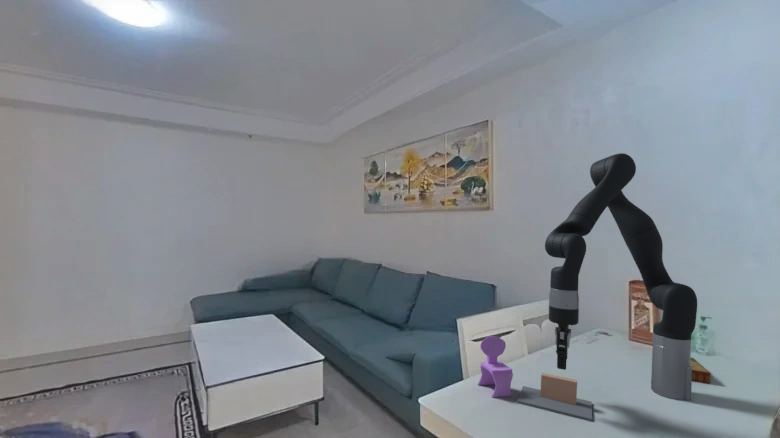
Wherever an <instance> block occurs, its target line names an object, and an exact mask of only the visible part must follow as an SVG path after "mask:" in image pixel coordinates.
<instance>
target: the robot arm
mask: <svg viewBox="0 0 780 438" xmlns="http://www.w3.org/2000/svg"><path fill="white" fill-rule="evenodd" d="M636 171H637V166H636V163H635V160H634V159H633V158H632V156H631V155H628V154H627V153H622V152H621V153H616V154H612V155H609V156H607V157H604V158H602V159H599V160H597V161H595V162H593V163H592V165H591V166H590V168H589V174H590V178H591V181H592V183H593V185H594V188H593V189H591V191H589V192H588V193H587V194H586V195H585V196H584V197H582V199H581V200H579V202H578V203H577V204H576V205H575V206H574V207H573V208H572V211H570V213H569V215H568V217H567V218H566V219H565V220H564V221H562V222H561V223H560V224H558V225H557V226H556V227H555V228H553V230H552V231H551V232H550V233H549V234H548V236H547V237H546V239H545V243H544V249H545V252H546V254H548V255H549V256H550V257H552V258H559V259H565V260H564V262H563V264H562V265H561V266H554V267H553V268H552V269H551V270H550V282H549V283H550V285H549V287H550V288H549V295H548V320H549V321H550V322H551V323H553V324H557V326H555V330H554V337H555V342H554V343H555V346H556V350H555V353H556V355H557V357H556V360H557V361H556V362H557V363H556V367H557V369H558V370H564V371H565V370H566V369H567V359H568V348H570V341H571V337H572V336H571V335H572V328H570V326H576V325H577V324H579V317H580V316H579V315H580V313H579V312H580V297H579V277H580V276H579V275H580V271H581V269H582V265H583V262H584V259H585V256H586V253H587V243H586V239H584V237H585V236H588V235H589V234H590V233H591V231H592V229H594V227H595V225H596V223H597V222H598V220H599V219H600V217H601V216H602V214H603V212H604V211H605V210H606V208H608V210H609V211H610V213H611V215H612V217H613V219H614V221H615V223H616V225H617V228H618V229H619V231H620V234H621V237H622V239H623V241H624V242H625V245H626V247H627V249H628V251H629V252H630V254H631V256H632V259H633V261H634V263H635V266H637V269H638V271H639V274H640V275H641V278H642V281H643V285H644V287H645V290H646V293H647V296H648V298H649V300H650V302H651V304H652V305H653V306H655V308H656V309H659V310H661V311H662V318H661V321H658V322H655V323H654V324H653V326H652V327H653V328H652V329H653V331H652V332H653V333H652V353H651V355H652V356H651V357H652V358H651V375H650V376H651V379H650V389H651V391H653V392H654V393H656V394H657V395H660V396H663V397H666V398H669V399H673V400H684V401H685V400H688V401H692V384H693V383H692V367H691V365H690V357H691V355H692V354H691V352H692V351H691V348H692V347H691V346H692V335H693V333H694V331H695V329H696V321H697V315H698V314H697V313H698V312H697V311H698V297H697V294H696V292H695V291H694V289H693V288H692V287H691V286H689V285H687V284H683V283H680V282H674V281H673V279H672V277H670V275H669V273H668V271H667V269H666V267H665V265H664V262H663V249H664V247H663V239H662V236H661V234H660V231H659V229H658V227H657V225H656V224H655V221H654V219H653V218H652V217H651V216H650V215H649V214H647V212H645V211H644V210H642V209H641V208H640V207H639V206H636V204H634V203H633V202H631V201H630V200H629V199H628V198H627V197H626V195H625V194H624V192H623V191H622V190H623V189H625V187H626V186H627V185H628V184H629V183H630V182H631V181H632V180H633V179H634V177H635V174H636Z"/></svg>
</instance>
